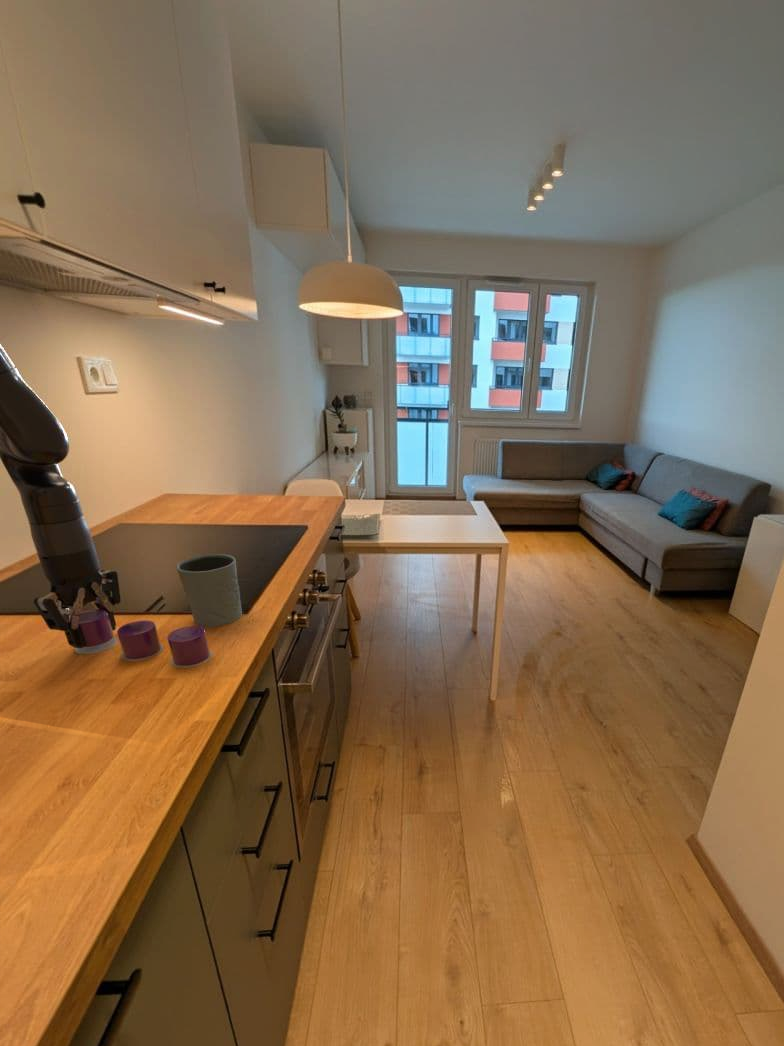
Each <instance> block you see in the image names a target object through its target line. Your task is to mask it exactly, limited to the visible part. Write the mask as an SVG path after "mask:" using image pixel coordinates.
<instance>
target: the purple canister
mask: <svg viewBox="0 0 784 1046" xmlns="http://www.w3.org/2000/svg"><path fill="white" fill-rule="evenodd" d="M166 638H167V643H168V646H169V649H170V650H169V651H170V655H171V658H172V659H173V662H174V663H175V664H176V665H180V666H189V665H194V664H197V663H200V662H202V661H204V660H206V659H207V658H208V657H209V655H210V652H209V650H210V648H209V644H208V643H209V642H208V638H207V634H206V629H205V627H203V626H199V625H190V626H182V627H180V628H177V629H174V630H172V631H171V632H169V633H168V635H167V637H166Z"/></svg>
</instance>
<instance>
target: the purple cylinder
mask: <svg viewBox="0 0 784 1046" xmlns="http://www.w3.org/2000/svg"><path fill="white" fill-rule="evenodd" d="M69 621H70V617H69ZM78 627H80V628H81V631H82V634H83V637H84V640H85V643H86V646H85V647H91V646H97V645H100V644H103V643H106V642H108V641H109V640H111V639H112V638H113V637H115V633H114V631H113V630H112V627H111V623H110V620H109V616H108V613H107V611H105V610H100V609H96V608H95V609H88V610H84V611H83V610H82V614H81V615H80V616H79V625H78Z"/></svg>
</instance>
